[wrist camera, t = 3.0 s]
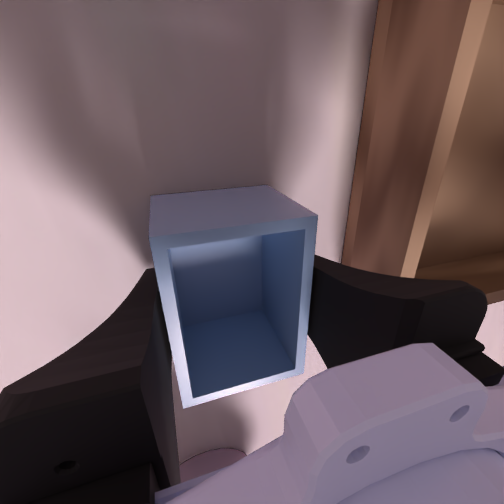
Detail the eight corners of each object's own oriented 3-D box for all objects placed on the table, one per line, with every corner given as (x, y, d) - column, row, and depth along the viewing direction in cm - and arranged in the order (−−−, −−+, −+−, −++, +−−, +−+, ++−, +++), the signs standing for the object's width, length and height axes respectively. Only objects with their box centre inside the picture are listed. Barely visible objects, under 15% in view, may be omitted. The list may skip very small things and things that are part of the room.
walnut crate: (505, 252, 20) (576, 280, 17) (337, 287, 16) (385, 332, 13) (612, 4, 14) (761, -33, 11) (382, -28, 10) (497, -101, 7)
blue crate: (266, 309, 16) (303, 373, 12) (175, 329, 14) (183, 408, 10) (267, 184, 12) (318, 215, 9) (150, 195, 11) (148, 237, 7)
